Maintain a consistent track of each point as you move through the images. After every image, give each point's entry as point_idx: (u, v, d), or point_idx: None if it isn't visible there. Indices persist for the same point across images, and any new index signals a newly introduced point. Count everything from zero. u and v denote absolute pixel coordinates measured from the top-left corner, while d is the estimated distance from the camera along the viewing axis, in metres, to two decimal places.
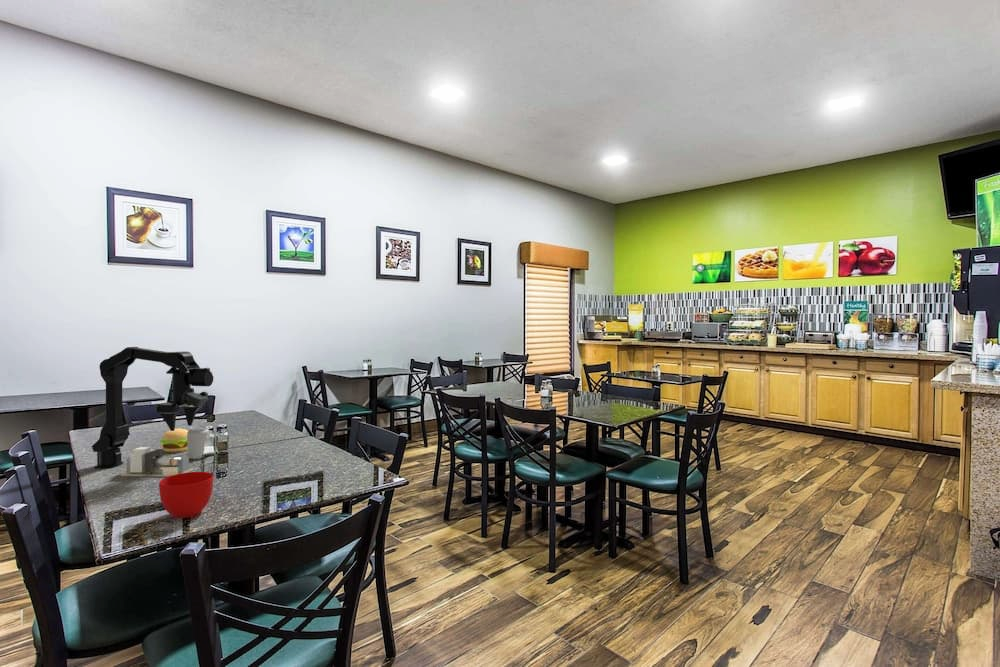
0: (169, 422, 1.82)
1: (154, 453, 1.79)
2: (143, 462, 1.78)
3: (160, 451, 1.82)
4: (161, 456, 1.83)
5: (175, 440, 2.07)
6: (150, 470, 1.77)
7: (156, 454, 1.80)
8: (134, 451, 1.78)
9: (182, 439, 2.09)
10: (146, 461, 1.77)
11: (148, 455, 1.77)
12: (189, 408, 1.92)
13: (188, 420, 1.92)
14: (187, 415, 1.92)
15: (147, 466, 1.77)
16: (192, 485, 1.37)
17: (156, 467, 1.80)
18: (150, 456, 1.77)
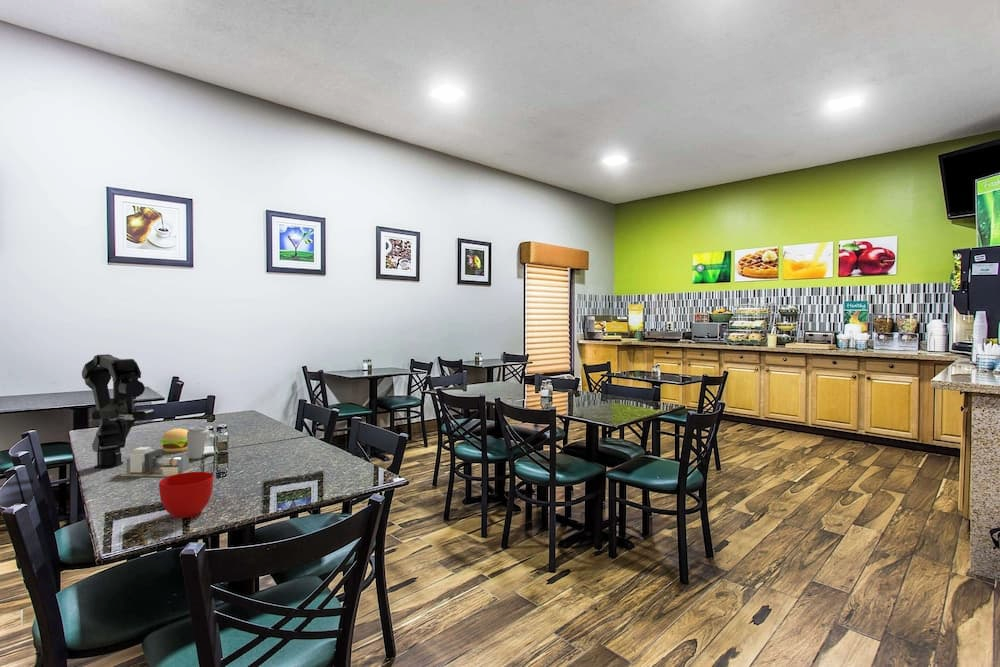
0: None
1: (154, 453, 1.79)
2: (143, 462, 1.78)
3: (160, 451, 1.82)
4: (161, 456, 1.83)
5: (175, 440, 2.07)
6: (150, 470, 1.77)
7: (156, 454, 1.80)
8: (134, 451, 1.78)
9: (182, 439, 2.09)
10: (146, 461, 1.77)
11: (148, 455, 1.77)
12: None
13: None
14: None
15: (147, 466, 1.77)
16: (192, 485, 1.37)
17: (156, 467, 1.80)
18: (150, 456, 1.77)
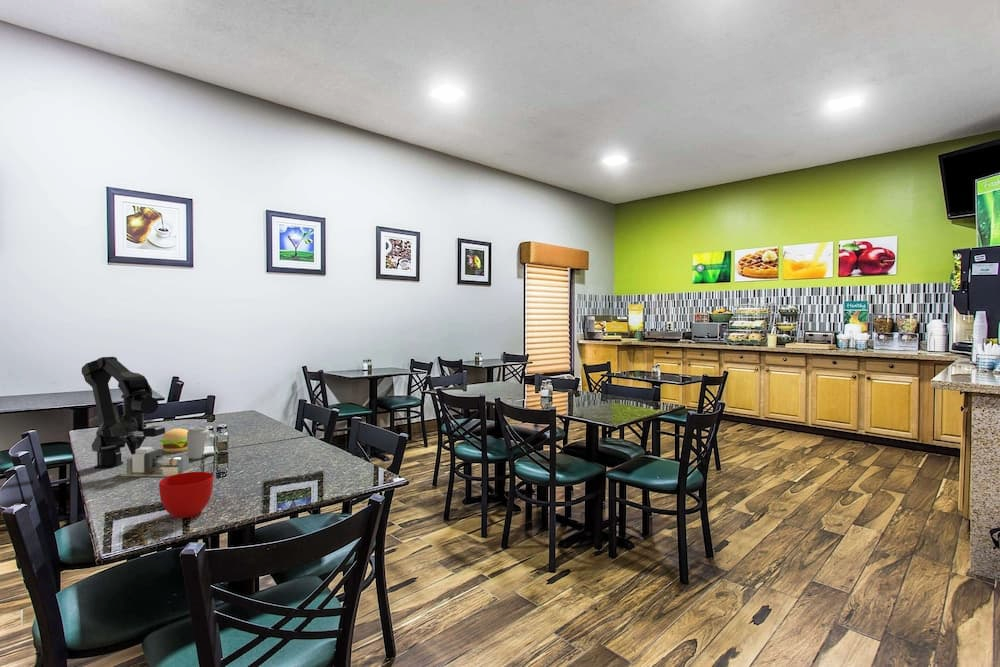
0: None
1: (154, 453, 1.79)
2: None
3: (160, 451, 1.82)
4: (161, 456, 1.83)
5: (175, 440, 2.07)
6: (150, 470, 1.77)
7: (156, 454, 1.80)
8: (136, 451, 1.78)
9: (182, 439, 2.09)
10: (146, 461, 1.77)
11: (148, 455, 1.77)
12: None
13: None
14: None
15: (147, 466, 1.77)
16: (192, 485, 1.37)
17: (156, 467, 1.80)
18: (150, 456, 1.77)
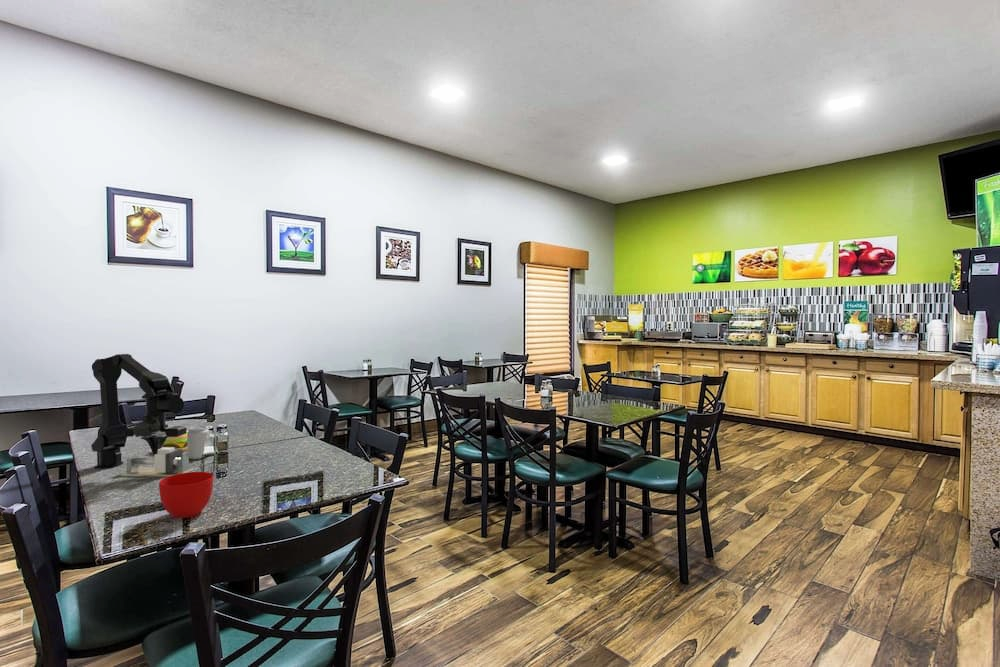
0: None
1: (175, 453, 1.79)
2: None
3: (180, 451, 1.82)
4: (181, 456, 1.83)
5: (175, 440, 2.07)
6: (171, 470, 1.77)
7: (176, 454, 1.80)
8: (158, 451, 1.78)
9: (182, 439, 2.09)
10: (167, 461, 1.77)
11: (169, 455, 1.77)
12: None
13: None
14: None
15: (168, 466, 1.77)
16: (192, 485, 1.37)
17: (176, 467, 1.80)
18: (171, 456, 1.77)
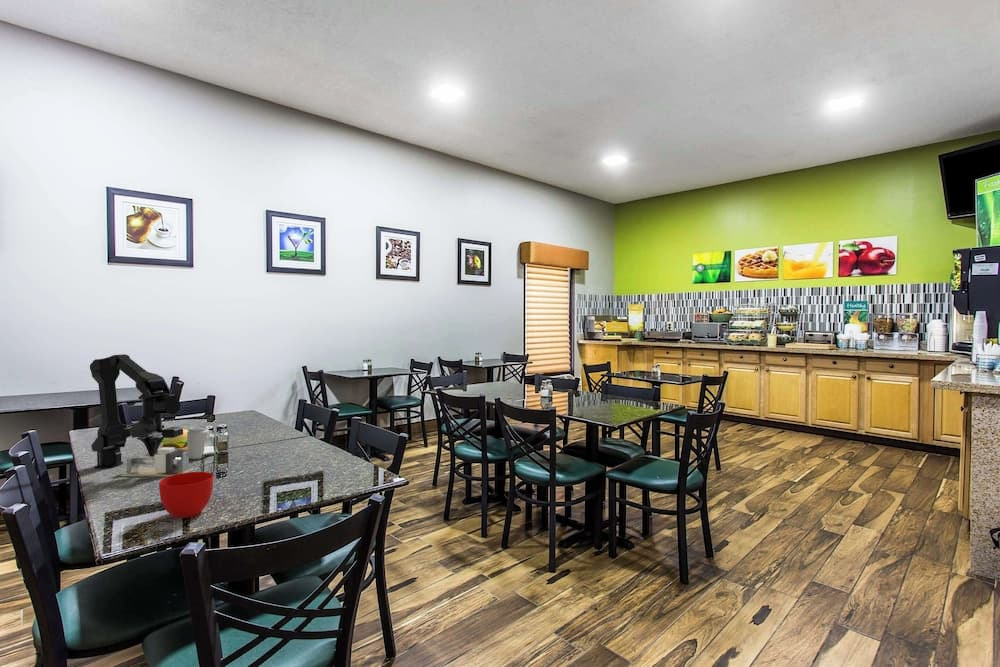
0: None
1: (175, 453, 1.79)
2: None
3: (180, 451, 1.82)
4: (181, 456, 1.83)
5: (175, 440, 2.07)
6: (171, 470, 1.77)
7: (177, 454, 1.80)
8: (158, 451, 1.78)
9: (182, 439, 2.09)
10: (167, 461, 1.77)
11: (169, 455, 1.77)
12: None
13: None
14: None
15: (168, 466, 1.77)
16: (192, 485, 1.37)
17: (177, 467, 1.80)
18: (171, 456, 1.77)
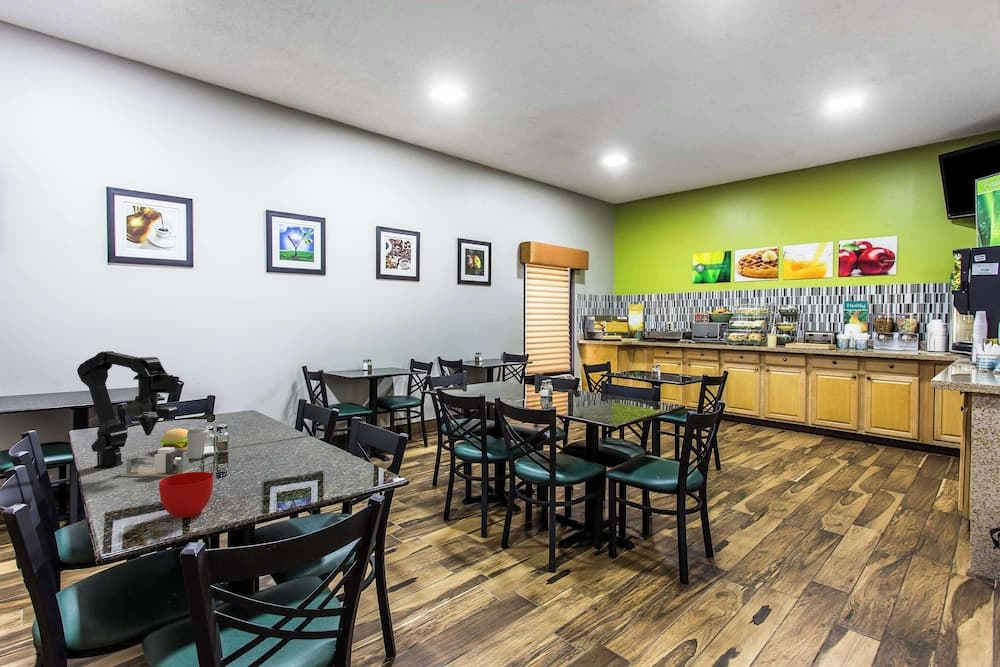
0: None
1: (175, 453, 1.79)
2: None
3: (180, 451, 1.82)
4: (181, 456, 1.83)
5: (175, 440, 2.07)
6: (171, 470, 1.77)
7: (177, 454, 1.80)
8: (158, 451, 1.78)
9: (182, 439, 2.09)
10: (167, 461, 1.77)
11: (169, 455, 1.77)
12: None
13: None
14: None
15: (168, 466, 1.77)
16: (192, 485, 1.37)
17: (177, 467, 1.80)
18: (171, 456, 1.77)
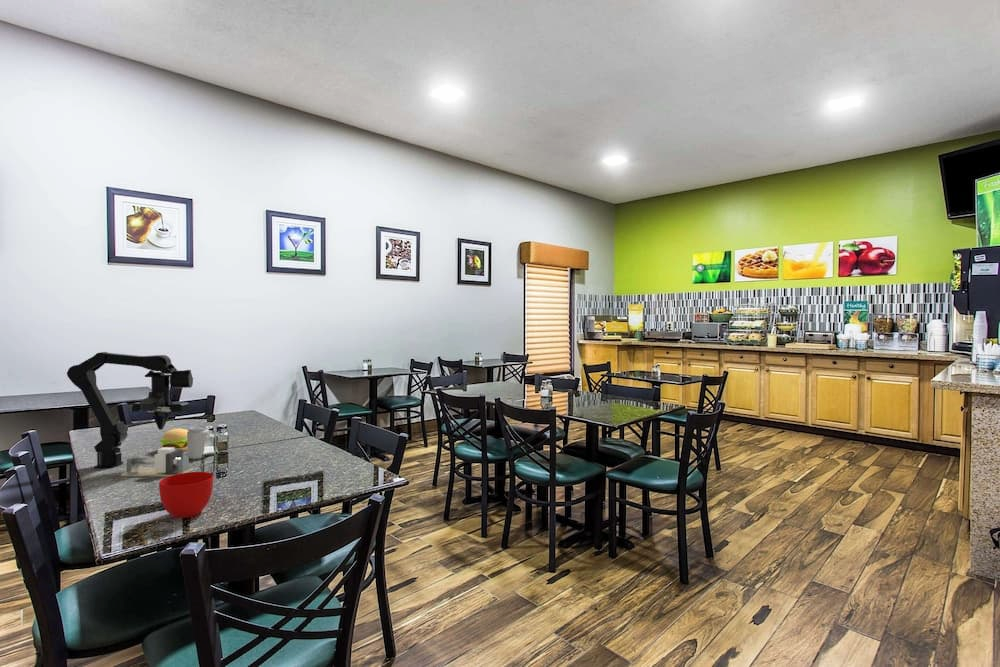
0: None
1: (175, 453, 1.79)
2: None
3: (180, 451, 1.82)
4: (181, 456, 1.83)
5: (175, 440, 2.07)
6: (171, 470, 1.77)
7: (177, 454, 1.80)
8: (158, 451, 1.78)
9: (182, 439, 2.09)
10: (167, 461, 1.77)
11: (169, 455, 1.77)
12: None
13: None
14: None
15: (168, 466, 1.77)
16: (192, 485, 1.37)
17: (177, 467, 1.80)
18: (171, 456, 1.77)
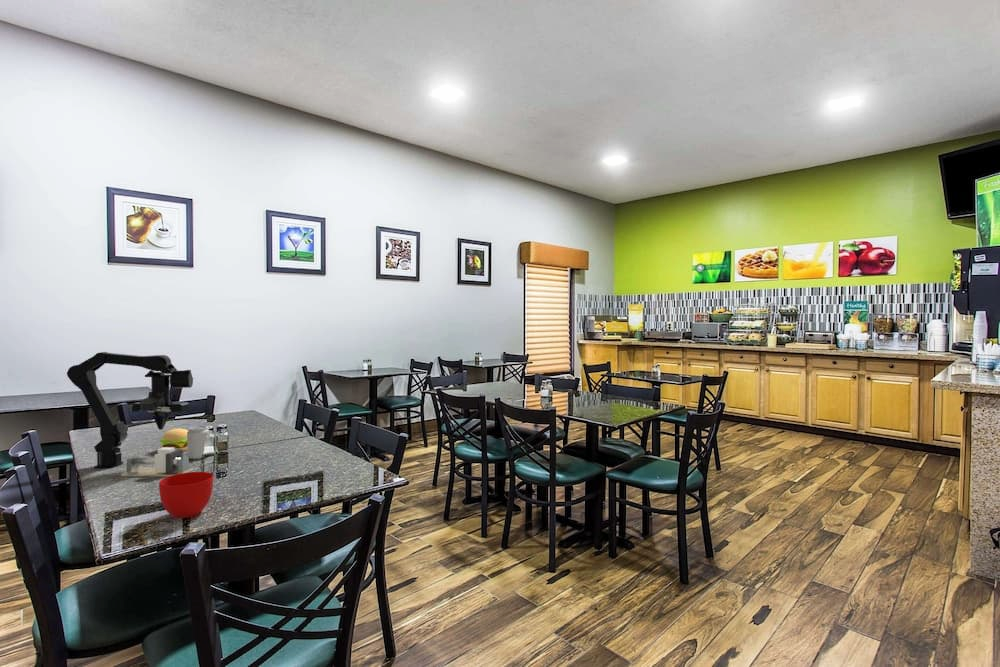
0: None
1: (175, 453, 1.79)
2: None
3: (180, 451, 1.82)
4: (181, 456, 1.83)
5: (175, 440, 2.07)
6: (171, 470, 1.77)
7: (177, 454, 1.80)
8: (158, 451, 1.78)
9: (182, 439, 2.09)
10: (167, 461, 1.77)
11: (169, 455, 1.77)
12: None
13: None
14: None
15: (168, 466, 1.77)
16: (192, 485, 1.37)
17: (177, 467, 1.80)
18: (171, 456, 1.77)
